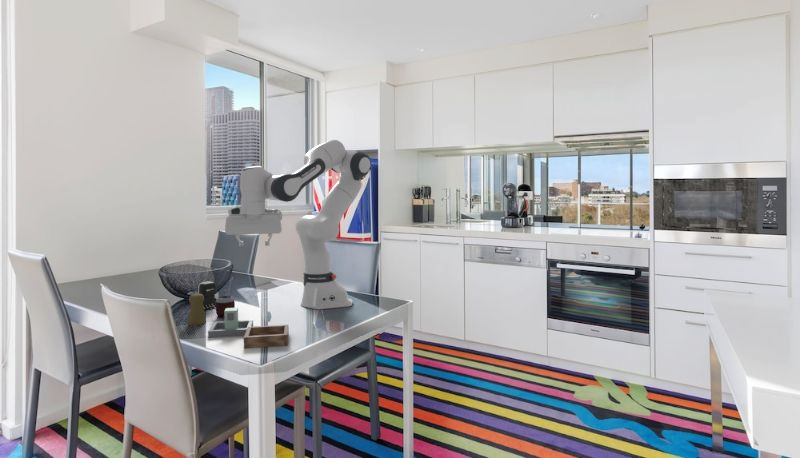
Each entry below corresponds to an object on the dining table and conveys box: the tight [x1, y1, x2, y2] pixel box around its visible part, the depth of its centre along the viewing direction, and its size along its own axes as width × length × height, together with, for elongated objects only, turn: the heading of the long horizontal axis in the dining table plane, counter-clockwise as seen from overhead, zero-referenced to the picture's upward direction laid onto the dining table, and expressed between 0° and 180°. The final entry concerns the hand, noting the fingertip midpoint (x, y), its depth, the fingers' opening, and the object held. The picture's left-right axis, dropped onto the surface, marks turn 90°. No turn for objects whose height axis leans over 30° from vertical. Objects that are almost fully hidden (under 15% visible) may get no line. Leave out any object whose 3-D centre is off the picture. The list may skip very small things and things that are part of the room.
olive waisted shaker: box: [188, 293, 207, 327], centre depth 168 cm, size 6×6×11 cm
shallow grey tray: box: [207, 319, 254, 339], centre depth 159 cm, size 13×11×2 cm
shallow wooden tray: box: [243, 324, 290, 349], centre depth 149 cm, size 13×11×4 cm
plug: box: [224, 307, 240, 329], centre depth 158 cm, size 4×5×8 cm
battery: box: [197, 281, 217, 312], centre depth 187 cm, size 7×4×11 cm, turn 147°
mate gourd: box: [215, 276, 236, 319], centre depth 176 cm, size 8×8×15 cm
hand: (254, 245), depth 170 cm, fingers open, 8 cm apart
